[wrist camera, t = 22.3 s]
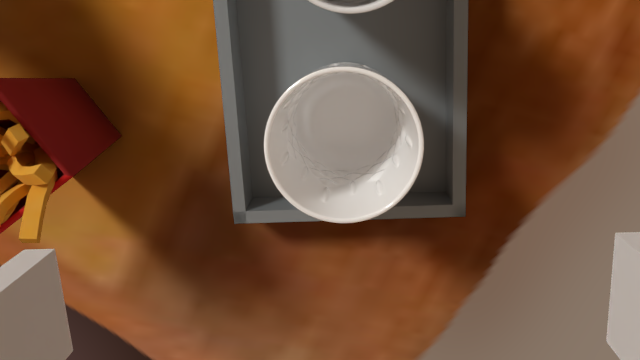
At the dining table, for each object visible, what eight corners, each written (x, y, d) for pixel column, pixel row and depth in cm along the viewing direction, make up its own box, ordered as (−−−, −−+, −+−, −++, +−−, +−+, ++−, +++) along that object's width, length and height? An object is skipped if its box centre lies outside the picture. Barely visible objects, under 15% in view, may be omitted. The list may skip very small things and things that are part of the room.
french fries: (75, 57, 40) (-82, 83, 26) (156, 156, 42) (50, 233, 27) (-17, 134, 42) (-213, 200, 27) (63, 226, 43) (-81, 334, 29)
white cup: (271, 153, 40) (245, 197, 31) (305, 36, 38) (288, 45, 29) (384, 187, 41) (393, 242, 31) (424, 74, 38) (447, 95, 29)
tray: (209, -173, 36) (195, -192, 33) (459, -192, 35) (471, -213, 32) (243, 206, 42) (234, 223, 39) (456, 199, 41) (465, 216, 38)
